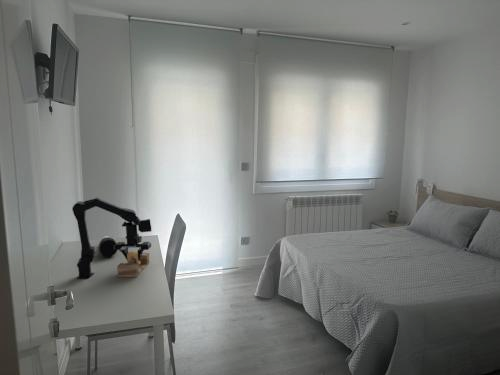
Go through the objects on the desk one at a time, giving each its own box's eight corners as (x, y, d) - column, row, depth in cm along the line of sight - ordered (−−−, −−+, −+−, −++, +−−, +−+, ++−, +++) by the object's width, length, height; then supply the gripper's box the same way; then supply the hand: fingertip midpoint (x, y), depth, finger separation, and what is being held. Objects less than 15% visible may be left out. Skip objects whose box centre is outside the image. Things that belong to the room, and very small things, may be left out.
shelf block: (136, 276, 183) (135, 264, 182) (118, 276, 183) (117, 264, 182) (149, 262, 203) (148, 251, 202) (132, 262, 203) (131, 251, 202)
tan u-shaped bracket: (140, 263, 194) (139, 252, 193) (138, 265, 191) (137, 253, 190) (129, 263, 194) (128, 252, 193) (127, 265, 191) (126, 253, 190)
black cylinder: (109, 248, 244) (115, 234, 245) (113, 259, 213) (120, 243, 214) (95, 244, 240) (101, 230, 241) (96, 253, 209) (103, 237, 210)
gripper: (153, 229, 197) (155, 255, 200) (121, 229, 198) (123, 255, 201) (146, 234, 186) (148, 262, 189) (112, 235, 187) (114, 263, 190)
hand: (133, 260), depth 192 cm, fingers closed on tan u-shaped bracket, 6 cm apart
